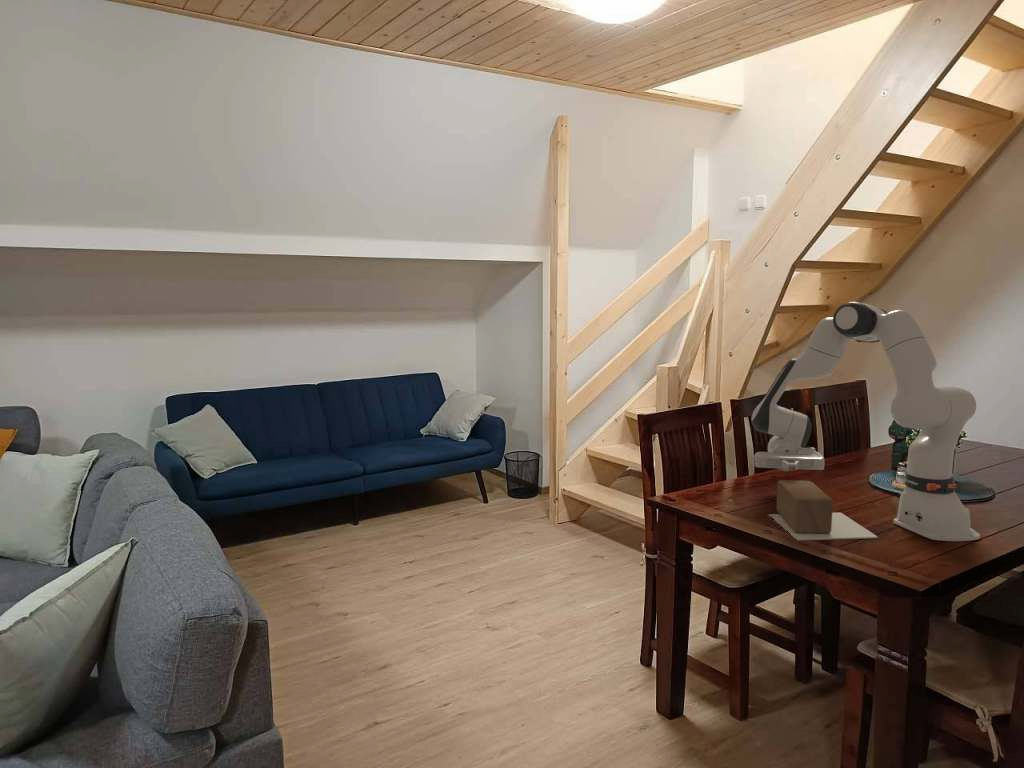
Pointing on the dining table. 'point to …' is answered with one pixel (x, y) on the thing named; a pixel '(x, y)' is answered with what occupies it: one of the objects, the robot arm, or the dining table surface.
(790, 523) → the block
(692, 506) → the dining table surface
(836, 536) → the mat
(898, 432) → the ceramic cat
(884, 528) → the dining table surface
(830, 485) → the dining table surface
